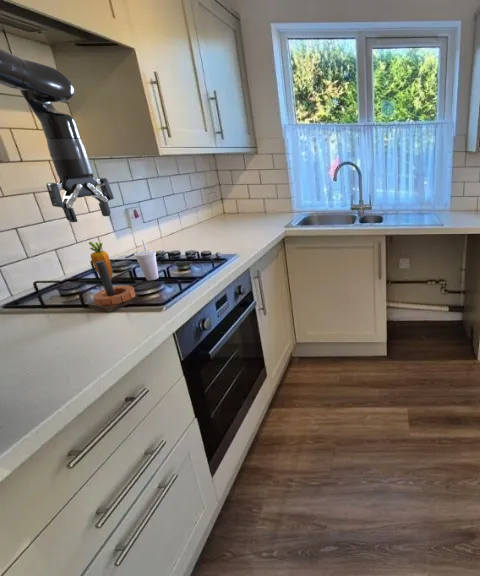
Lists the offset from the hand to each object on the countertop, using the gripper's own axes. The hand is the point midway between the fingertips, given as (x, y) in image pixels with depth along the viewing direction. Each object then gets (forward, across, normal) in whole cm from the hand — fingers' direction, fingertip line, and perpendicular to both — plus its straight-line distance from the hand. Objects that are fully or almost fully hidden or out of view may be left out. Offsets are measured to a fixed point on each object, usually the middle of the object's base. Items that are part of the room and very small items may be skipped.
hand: (90, 218), depth 101 cm
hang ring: (+24, -1, 0) cm, 24 cm away
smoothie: (+26, +18, +8) cm, 32 cm away
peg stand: (+26, -2, 0) cm, 26 cm away
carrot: (+26, +9, +19) cm, 33 cm away
